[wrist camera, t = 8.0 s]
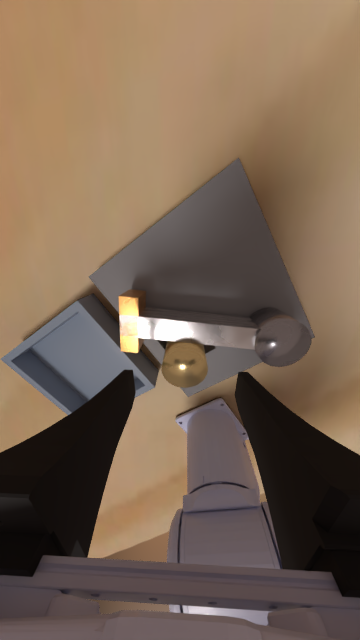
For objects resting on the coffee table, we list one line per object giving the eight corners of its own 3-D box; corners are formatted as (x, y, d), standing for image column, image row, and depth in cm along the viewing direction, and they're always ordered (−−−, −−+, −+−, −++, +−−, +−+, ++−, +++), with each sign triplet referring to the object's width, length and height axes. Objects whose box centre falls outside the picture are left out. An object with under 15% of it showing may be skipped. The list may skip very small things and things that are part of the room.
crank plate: (302, 329, 20) (314, 337, 18) (187, 385, 23) (188, 396, 22) (232, 169, 15) (238, 157, 13) (98, 274, 18) (88, 276, 16)
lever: (295, 306, 16) (322, 319, 13) (278, 351, 18) (298, 372, 15) (130, 288, 16) (116, 297, 13) (130, 336, 18) (118, 354, 15)
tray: (158, 370, 23) (154, 387, 20) (92, 406, 26) (80, 425, 23) (93, 293, 19) (77, 300, 16) (24, 345, 22) (0, 359, 19)
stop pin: (207, 339, 21) (216, 375, 15) (180, 354, 22) (178, 394, 16) (190, 314, 20) (191, 341, 13) (162, 331, 20) (152, 363, 14)
